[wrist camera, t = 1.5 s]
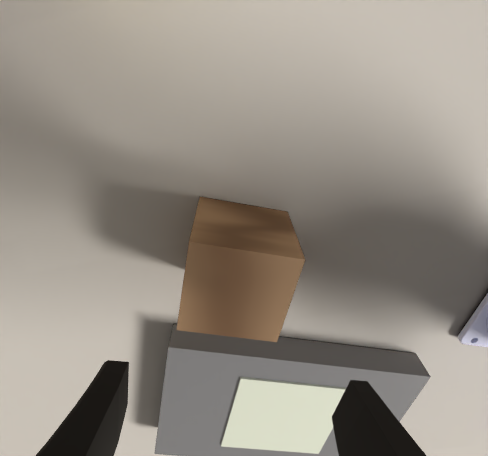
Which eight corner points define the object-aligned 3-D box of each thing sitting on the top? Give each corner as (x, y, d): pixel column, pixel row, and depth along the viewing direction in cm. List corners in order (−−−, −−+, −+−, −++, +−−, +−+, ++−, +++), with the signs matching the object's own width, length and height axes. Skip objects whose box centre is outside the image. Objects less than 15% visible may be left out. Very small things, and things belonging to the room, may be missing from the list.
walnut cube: (287, 211, 18) (305, 259, 14) (267, 281, 20) (276, 342, 16) (200, 196, 17) (189, 241, 13) (188, 269, 20) (176, 330, 15)
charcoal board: (415, 353, 24) (431, 378, 22) (358, 444, 29) (367, 471, 27) (173, 323, 22) (167, 349, 20) (159, 428, 27) (154, 455, 25)
